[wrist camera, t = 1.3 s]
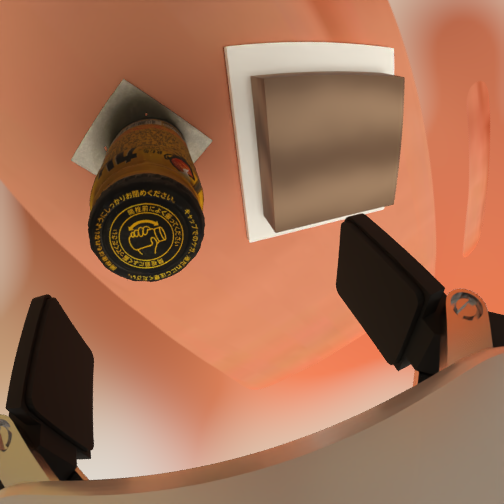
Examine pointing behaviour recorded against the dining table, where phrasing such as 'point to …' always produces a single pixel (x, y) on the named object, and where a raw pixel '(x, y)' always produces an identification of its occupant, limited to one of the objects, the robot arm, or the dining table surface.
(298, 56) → the base board
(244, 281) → the dining table surface
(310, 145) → the plinth
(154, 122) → the condiment
